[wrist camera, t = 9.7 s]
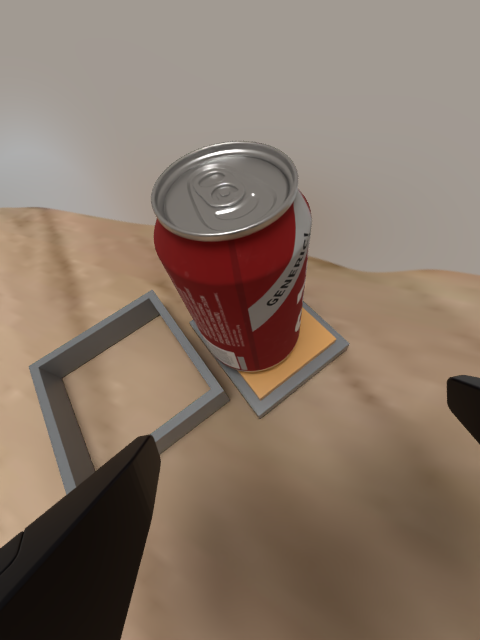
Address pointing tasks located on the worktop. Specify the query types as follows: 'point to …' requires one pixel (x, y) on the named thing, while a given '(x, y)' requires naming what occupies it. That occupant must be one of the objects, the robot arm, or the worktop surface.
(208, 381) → the case
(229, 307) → the soda can
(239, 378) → the lid
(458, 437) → the worktop surface
